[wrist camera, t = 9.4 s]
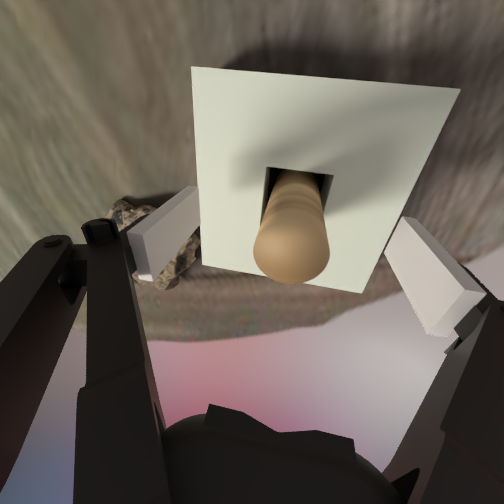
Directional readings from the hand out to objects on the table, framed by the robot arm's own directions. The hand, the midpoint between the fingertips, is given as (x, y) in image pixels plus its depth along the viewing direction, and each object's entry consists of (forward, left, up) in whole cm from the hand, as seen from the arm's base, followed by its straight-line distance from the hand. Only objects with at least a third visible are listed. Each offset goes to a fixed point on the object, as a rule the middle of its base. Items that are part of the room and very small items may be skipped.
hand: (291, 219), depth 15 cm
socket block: (0, 0, -8) cm, 8 cm away
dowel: (0, 0, -8) cm, 8 cm away
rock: (+9, -16, -8) cm, 20 cm away
